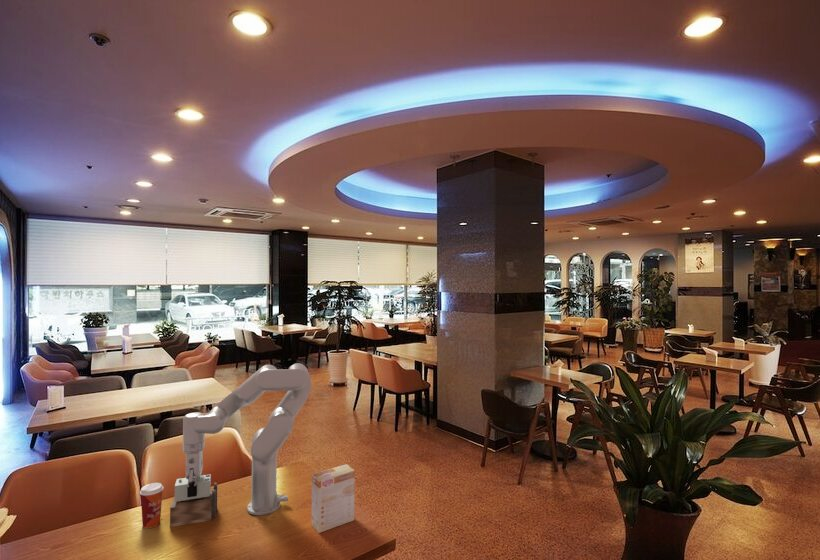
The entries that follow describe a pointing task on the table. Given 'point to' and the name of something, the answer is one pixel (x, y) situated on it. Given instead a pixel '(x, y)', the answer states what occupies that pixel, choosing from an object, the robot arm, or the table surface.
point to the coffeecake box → (332, 497)
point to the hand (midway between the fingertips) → (193, 491)
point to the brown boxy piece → (194, 509)
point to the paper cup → (151, 504)
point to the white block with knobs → (202, 488)
